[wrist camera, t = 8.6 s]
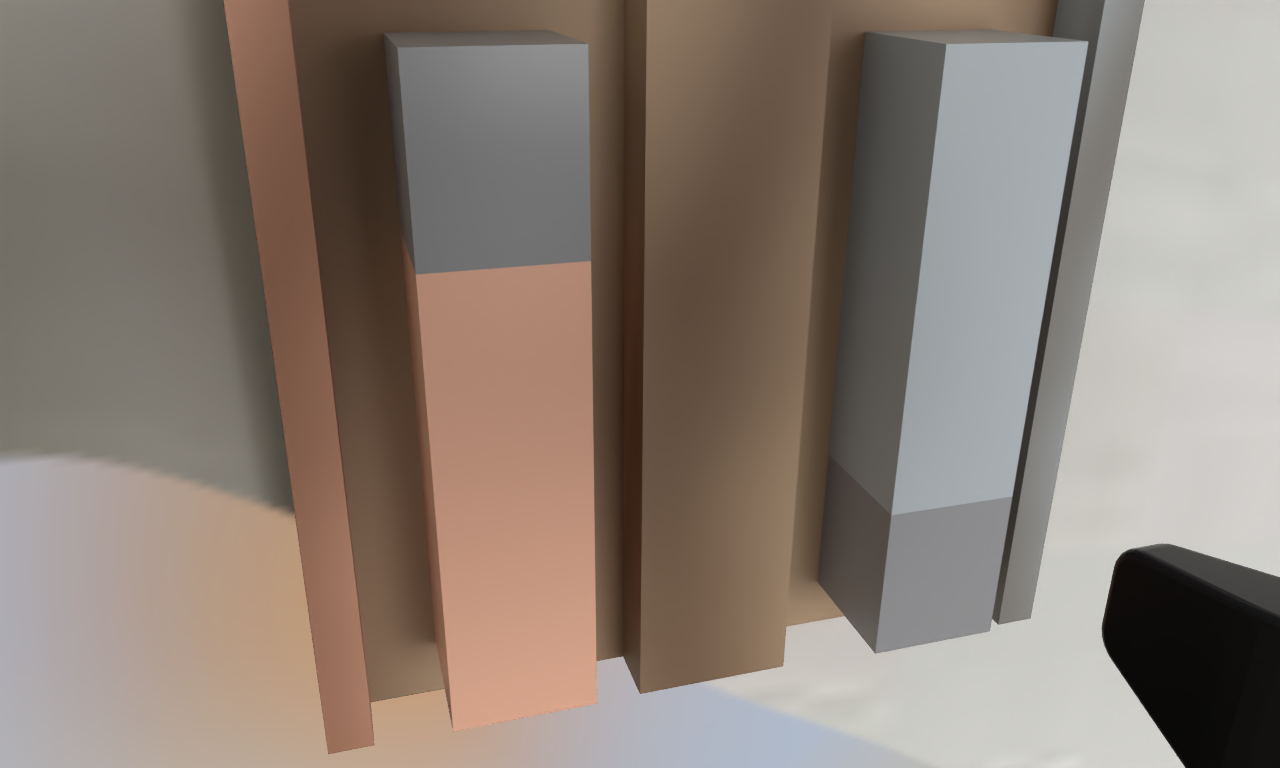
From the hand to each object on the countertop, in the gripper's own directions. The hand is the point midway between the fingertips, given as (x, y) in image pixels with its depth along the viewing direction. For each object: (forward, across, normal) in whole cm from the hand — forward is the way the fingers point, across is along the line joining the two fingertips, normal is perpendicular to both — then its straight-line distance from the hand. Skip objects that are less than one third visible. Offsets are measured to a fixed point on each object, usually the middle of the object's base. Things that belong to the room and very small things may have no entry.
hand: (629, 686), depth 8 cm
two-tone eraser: (+10, 0, +1) cm, 10 cm away
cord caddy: (+11, -4, +2) cm, 12 cm away
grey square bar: (+10, -8, +2) cm, 13 cm away
